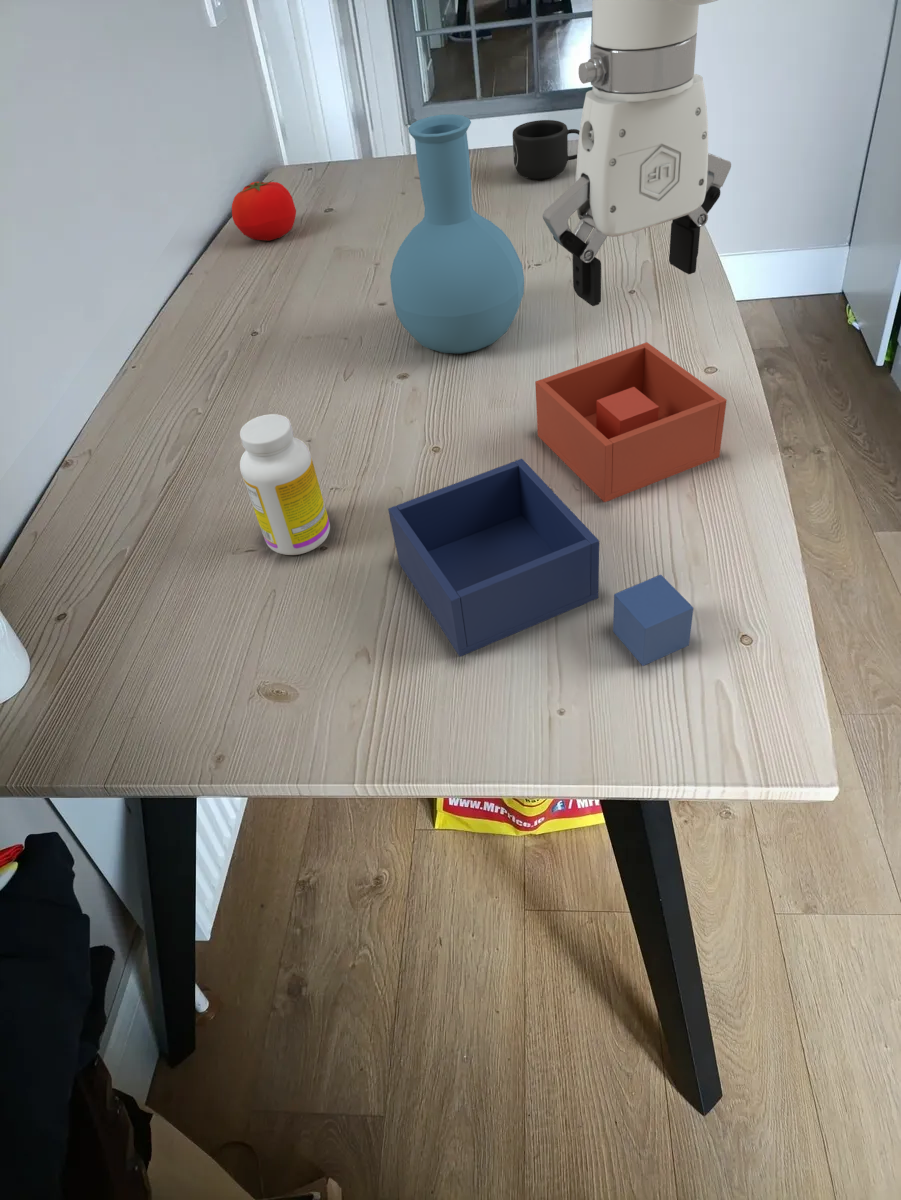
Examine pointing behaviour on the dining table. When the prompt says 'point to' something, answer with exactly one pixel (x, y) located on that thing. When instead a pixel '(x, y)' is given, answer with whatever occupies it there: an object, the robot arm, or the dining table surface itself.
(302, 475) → the supplement bottle
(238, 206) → the tomato
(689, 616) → the blue block
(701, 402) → the red bin
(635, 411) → the red block
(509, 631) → the blue bin
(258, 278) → the dining table surface
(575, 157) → the mug
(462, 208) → the vase
